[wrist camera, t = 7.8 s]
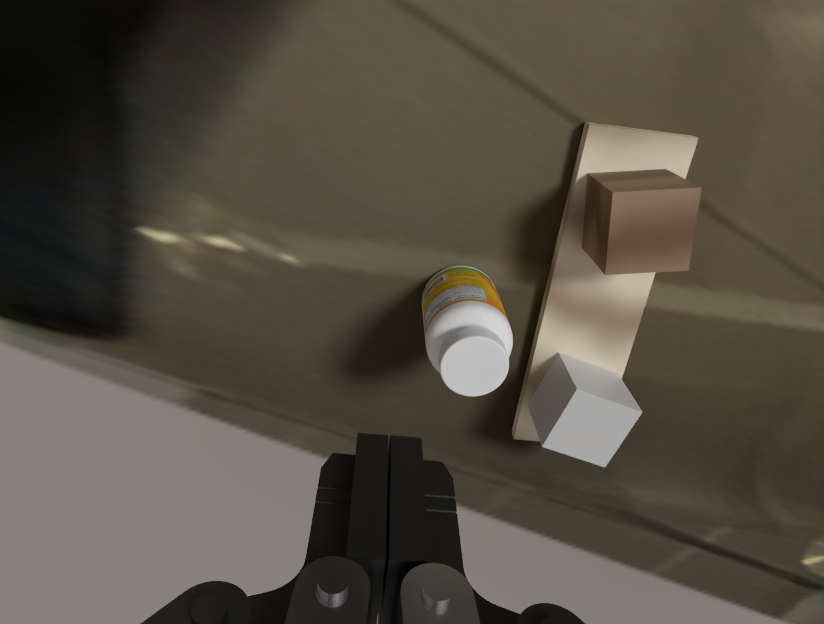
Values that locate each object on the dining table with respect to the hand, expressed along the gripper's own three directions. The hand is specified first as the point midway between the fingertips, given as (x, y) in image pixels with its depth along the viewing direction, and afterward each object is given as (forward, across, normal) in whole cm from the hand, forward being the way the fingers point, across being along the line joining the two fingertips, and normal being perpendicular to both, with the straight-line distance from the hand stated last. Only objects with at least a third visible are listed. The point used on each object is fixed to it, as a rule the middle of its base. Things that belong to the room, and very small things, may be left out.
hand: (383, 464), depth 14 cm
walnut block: (+27, -15, 0) cm, 31 cm away
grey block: (+26, -15, +14) cm, 34 cm away
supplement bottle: (+28, -6, +8) cm, 29 cm away
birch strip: (+28, -15, +7) cm, 32 cm away
